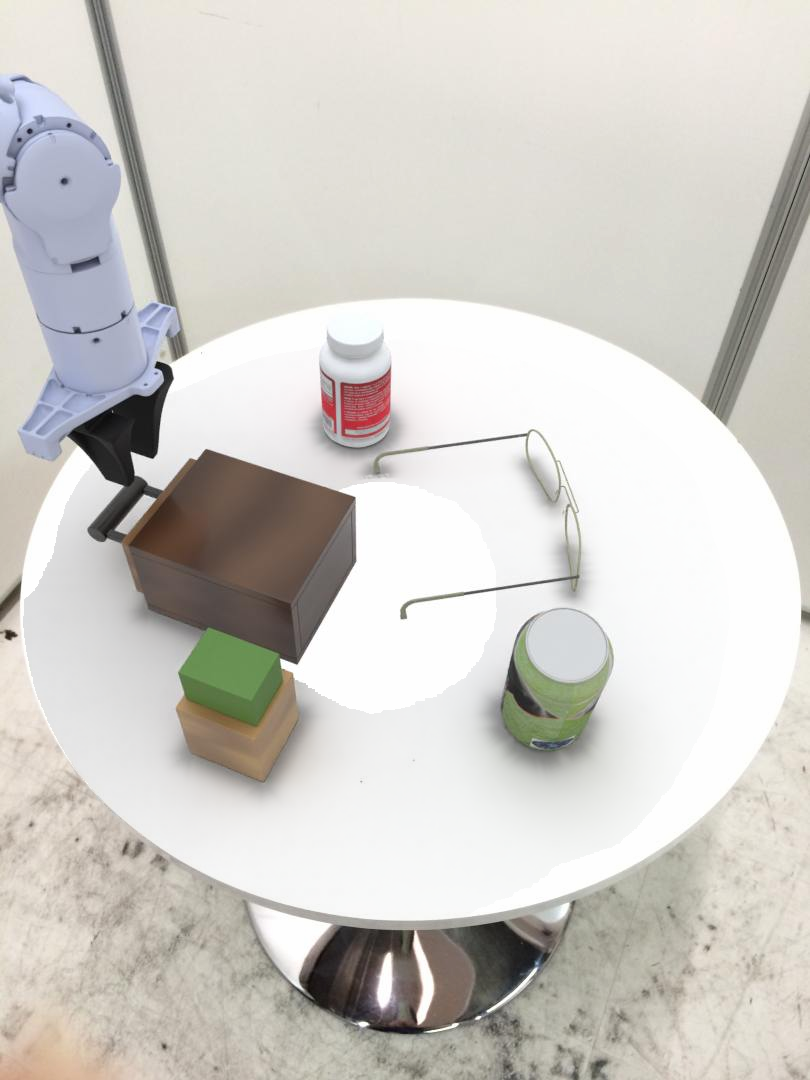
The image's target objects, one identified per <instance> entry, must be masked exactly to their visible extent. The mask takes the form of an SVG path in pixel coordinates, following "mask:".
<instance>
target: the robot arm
mask: <svg viewBox="0 0 810 1080" xmlns="http://www.w3.org/2000/svg"><path fill="white" fill-rule="evenodd" d="M121 172H122V171H121V166H120V165H119V164H118V163H114V161H113V159H112V156H111V153H110V151H109V148H108V147H107V144H106V143H105V142H104V140H103V139H102V137H101V136H100V135H99V134H98V133H97V132H96V131H95V130H94V129H93V127H91V126H90V125H89V124H88V123H87V122H86V121H85V120H84V119H83V118H82V117H81V116H80V115H79V114H78V113H77V112H76V111H75V110H74V109H73V108H72V107H71V105H70V104H69V103H67V101H65V100H64V98H63V97H61V96H60V95H59V94H57V92H55V91H53V90H51V89H50V88H49V87H47V86H45V85H43V84H42V83H40V82H37V81H34V80H32V79H31V78H30V77H28V76H27V75H26V74H24V73H8V74H2V73H0V204H1V207H2V210H3V212H4V215H5V218H6V221H7V224H8V227H9V231H10V233H11V239H12V248H13V251H14V254H15V257H16V260H17V262H18V266H19V269H20V272H21V274H22V277H23V281H24V283H25V286H26V289H27V292H28V295H29V299H30V300H31V303H32V306H33V309H34V312H35V315H36V319H37V322H38V324H39V327H40V330H41V333H42V336H43V339H44V342H45V344H46V348H47V352H48V353H49V356H50V359H51V362H52V367H51V369H50V372H49V373H48V376H47V378H46V380H45V382H44V383H43V384H44V385H43V386H42V389H41V391H40V393H39V396H38V398H37V400H36V402H35V403H34V406H33V408H32V410H31V411H30V413H29V415H28V416H27V418H26V419H25V421H24V422H23V423H22V424H21V425H20V426H19V427H18V428H17V430H16V431H17V435H18V436H19V439H20V441H21V443H22V446H23V449H24V451H25V453H26V454H28V455H31V456H33V457H36V458H38V459H41V460H46V461H48V462H51V463H54V462H55V461H56V460H57V459H58V458H59V457H60V456H61V455H62V454H63V450H62V447H61V443H62V442H63V440H64V439H66V437H67V438H69V439H70V440H71V441H72V442H73V443H74V444H76V445H77V446H78V447H79V448H80V449H81V450H82V451H83V453H85V455H86V456H87V457H88V458H89V459H90V460H91V462H92V463H93V464H94V465H95V467H96V468H97V469H98V471H99V473H100V474H101V476H103V478H104V480H105V481H108V482H110V483H114V484H116V485H120V486H122V487H124V486H126V487H130V485H131V484H132V483H133V482H134V478H135V476H136V475H135V474H136V472H135V467H134V462H133V461H134V460H133V457H132V453H133V454H136V455H139V456H142V457H145V458H147V459H150V460H154V459H155V458H156V456H157V455H158V452H159V446H160V445H159V444H160V431H161V421H162V415H163V409H164V405H165V402H166V399H167V395H168V394H169V393H168V392H169V390H170V388H171V386H172V383H173V382H174V380H175V377H174V372H173V367H171V365H169V364H168V363H165V362H162V361H159V360H158V359H159V356H160V353H161V350H162V347H163V344H164V342H165V338H166V337H167V338H174V337H175V336H176V335H178V333H179V332H180V331H181V327H180V322H179V317H178V311H177V307H175V306H172V305H169V304H165V303H161V302H158V301H154V300H150V301H149V302H148V303H147V304H146V305H145V306H144V307H142V308H140V309H139V310H138V309H137V306H136V301H135V298H134V297H135V296H134V293H133V289H132V285H131V280H130V276H129V272H128V267H127V263H126V259H125V255H124V251H123V246H122V243H121V242H122V241H121V238H120V233H119V230H118V228H117V226H116V224H115V219H114V215H113V209H114V207H115V205H116V203H117V200H118V198H119V194H120V191H121V185H122V184H121V183H122V173H121Z"/></svg>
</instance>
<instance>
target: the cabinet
mask: <svg viewBox="0 0 810 1080" xmlns="http://www.w3.org/2000/svg"><path fill="white" fill-rule="evenodd" d="M195 460H196V462H195V463H194V464H193V465H192V467H191V468H190V469H189V470H188V472H187V473H186V474H185V475H184V476H183V478H182V479H181V480H180V481H179V483H178V484H177V485H176V486H175V488H174V489H173V490H172V491H171V493H170V494H169V495H168V496H167V498H166V499H165V500H164V501H163V502H162V504H161V505H160V506H159V507H158V509H157V510H156V511H155V512H154V514H153V515H152V516H151V517H150V519H149V520H148V521H147V522H146V524H145V525H144V526H143V527H142V528H141V530H140V531H139V532H138V533H137V535H136V536H135V537H134V538H133V540H132V541H131V542H130V543H129V545H128V548H129V551H130V554H131V557H132V560H133V563H134V566H135V569H136V572H137V575H138V578H139V581H140V584H141V587H142V590H143V593H142V594H143V596H144V600H145V602H146V605H147V609H148V610H149V611H152V612H154V613H156V614H157V613H158V614H160V615H163V616H165V617H168V618H171V619H173V620H176V621H179V622H181V623H184V624H187V625H190V626H193V627H195V628H197V629H200V630H203V631H204V632H205V631H206V630H207V628H212V629H214V630H217V631H220V632H222V633H225V634H228V635H230V636H233V637H236V638H238V639H241V640H244V641H246V642H249V643H252V644H254V645H257V646H260V647H262V648H265V649H268V650H271V651H273V652H276V653H279V654H280V660H282V661H286V662H288V663H291V664H294V665H296V666H298V665H299V663H300V661H301V660H302V658H303V656H304V654H305V653H306V651H307V649H308V648H309V646H310V644H311V643H312V640H313V639H314V637H315V635H316V634H317V632H318V630H319V628H320V626H321V625H322V623H323V621H324V619H325V618H326V617H327V614H328V612H329V611H330V609H331V607H332V605H333V604H334V602H335V600H336V598H337V596H338V594H339V593H340V591H341V590H342V588H343V586H344V584H345V583H346V581H347V579H348V578H349V575H350V574H351V572H352V570H353V568H354V566H355V565H356V564H357V502H356V500H357V497H356V496H354V495H351V494H347V493H345V492H342V491H339V490H335V489H332V488H330V487H326V486H323V485H320V484H317V483H314V482H312V481H311V482H310V481H307V480H304V479H301V478H299V477H295V476H292V475H289V474H286V473H283V472H280V471H276V470H273V469H270V468H268V467H264V466H262V465H258V464H255V463H251V462H249V461H246V460H242V459H240V458H236V457H233V456H230V455H227V454H224V453H220V452H217V451H214V450H211V449H209V448H205V450H204V451H202V453H201V454H200V455H199V457H198V458H197V459H195Z"/></svg>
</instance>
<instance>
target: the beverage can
mask: <svg viewBox="0 0 810 1080" xmlns="http://www.w3.org/2000/svg"><path fill="white" fill-rule="evenodd" d="M614 656H615V655H614V648H613V645H612V642H611V640H610V638H609V636H608V634H607V632H606V631H605V630H604V628H603V626H602V625H601V624H600V623H599V621H598V620H597V619H595V618H594V616H592V615H590V614H589V613H587V612H585V611H583V610H581V609H579V608H576V607H575V608H574V607H570V606H569V607H568V606H559V607H552V608H549V609H546V610H543V611H541V612H540V611H539V612H538V613H536V614H535V615H533V616H531V617H530V618H529V619H527V620H526V621H525V622H524V623H523V625H522V626H521V627H520V628H519V630H518V632H517V634H516V636H515V640H514V642H513V647H512V651H511V656H510V659H509V663H508V667H507V668H508V669H507V673H506V676H505V682H504V684H503V690H502V694H501V700H500V712H501V717H502V720H503V722H504V725H505V727H506V728H507V730H508V731H509V733H510V734H511V735H512V737H514V738H515V739H516V740H518V741H519V742H520V743H521V744H523V745H525V746H527V747H529V748H532V749H534V750H537V751H538V750H539V751H557V750H561V749H564V748H567V747H568V746H569V745H571V744H573V743H574V742H575V741H576V740H578V739H579V738H580V736H581V735H582V733H583V732H584V731H585V728H586V726H587V724H588V721H589V720H590V718H591V716H592V714H593V712H594V710H595V707H596V706H597V704H598V702H599V700H600V697H601V695H602V694H603V692H604V690H605V687H606V685H607V683H608V681H609V679H610V678H611V675H612V673H613V668H614V663H615V662H614V660H615V657H614Z"/></svg>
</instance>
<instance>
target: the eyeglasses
mask: <svg viewBox="0 0 810 1080" xmlns="http://www.w3.org/2000/svg"><path fill="white" fill-rule="evenodd" d="M532 432H534V433H536V434H537V435H538V436H539V437H540V438H541V440H542V441H543V442H544V444H545V445H546V447H547V449H548V451H549V453H550V455H551V457H552V460H553V462H554V465H555V469H556V473H557V478H558V489H556V490H555V495H556V498H555V499H554V498H553V496H552V494H551V493H550V492H549V491H548V489H547V487H546V485H545V483H544V482H543V480H542V478H541V477H540V476H539V473H538V472H537V471H536V469H535V467H534V465H533V463H532V461H531V458H530V455H529V447H528V446H529V438H530V435H531V433H532ZM523 437H525V454H526V458H527V461H528V464H529V466H530V468H531V469H532V472H533V473H534V475H535V477H536V478H537V480H539V483H540V484H541V486H542V488H543V489H544V491H545V493H546V495H547V496H548V498H549V499H550V500H551V501H552V503H557V502H558V501H559V499H560V495H561V491H562V488H564V491H565V494H566V496H567V499H568V501H569V503H567V504H566V506H565V510H563V511H562V512H561V513H562V515H564V536H565V542H566V547H567V553H568V558H569V564H570V565H569V567H570V571H571V572H570V573H571V575H569V576H565V577H558V578H551V579H550V578H549V579H544V580H543V579H542V580H538V581H529V582H523V583H517V584H510V585H509V584H508V585H505V586H504V585H503V586H497V587H490V588H489V587H488V588H483V589H476V590H470V591H469V590H468V591H459V592H452V593H445V594H437V595H431V596H426V597H425V596H424V597H418V598H413V599H410V600H407V601H406V602H404V603H403V604H402V606H401V607H400V609H399V612H400V615H399V617H400V620H403V621H404V620H407V619H408V614H407V610H406V609H407V608H408V607H409V606H412V605H413V604H418V603H424V602H432V601H439V600H444V599H445V600H446V599H452V598H459V597H464V596H469V595H475V594H483V593H488V592H495V591H502V590H509V589H516V588H523V587H528V586H530V587H531V586H536V585H543V584H550V583H556V582H562V581H568V580H569V581H570V580H571V584H572V585H571V586H572V592H576V591H577V587H578V583H579V579H580V577H581V575H580V568H581V560H582V559H581V557H582V534H581V528H580V523H579V519H578V515H577V514H578V513H579V512H580V509H579V507H578V505H577V501H576V499H575V496H574V494H573V491H572V488H571V485H570V483H569V479H568V477H567V475H566V472H565V470H564V467H563V464H562V462H561V460H557V458H556V456H555V454H554V452H553V450H552V448H551V446H550V444H549V443H548V441H547V440H546V438H545V437H544V435H543V434H542V433H541V431H539V430H537V429H535V428H530V429H529V430H528V431H527V432H525V433H518V434H511V435H503V436H496V437H488V438H482V439H475V440H467V441H459V442H452V443H446V444H439V445H431V446H429V445H428V446H427V445H425V446H419V447H418V446H417V447H411V448H405V449H397V450H390V451H384V452H382V453H380V454H378V455H377V456H376V457H375V458H374V460H373V473H374V474H377V473H380V472H381V470H380V466H379V465H380V464H379V463H380V460H381V459H382V458H384V457H388V456H389V457H390V456H396V455H402V454H403V455H404V454H410V453H419V452H424V451H425V452H427V451H430V450H437V449H444V448H450V447H451V448H452V447H458V446H459V447H460V446H465V445H466V446H467V445H475V444H480V443H481V444H482V443H488V442H494V441H495V442H496V441H502V440H509V439H516V438H523ZM558 463H559V464H558ZM559 465H560V468H561V470H560V468H559ZM560 471H562V474H563V476H564V478H565V481H566V484H567V486H568V489H569V491H568V489H567V487H566V486H565V485H562V476H561V472H560ZM569 492H570V495H571V497H572V500H573V502H574V506H575V507H574V506H573V503H572V500H571V497H570V495H569ZM569 508H570V509H571V511H572V513H573V517H574V520H575V524H576V525H575V526H576V531H577V537H578V538H577V539H578V555H577V556H578V557H577V568H576V575H575V572H574V571H575V570H574V564H573V558H572V553H571V552H572V551H571V547H570V541H569V535H568V534H569V533H568V513H569ZM575 508H576V510H575Z"/></svg>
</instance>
